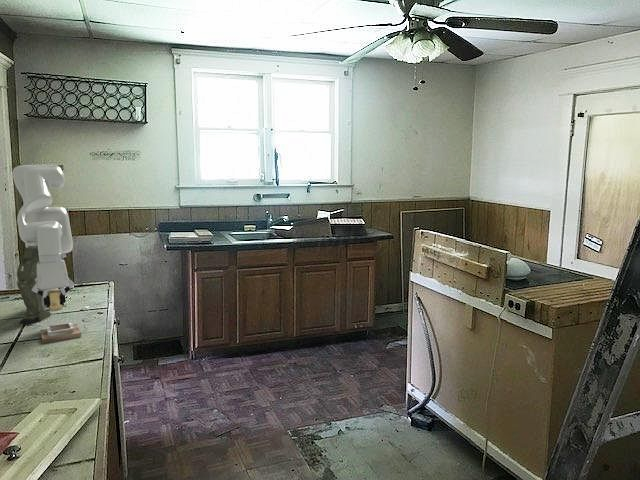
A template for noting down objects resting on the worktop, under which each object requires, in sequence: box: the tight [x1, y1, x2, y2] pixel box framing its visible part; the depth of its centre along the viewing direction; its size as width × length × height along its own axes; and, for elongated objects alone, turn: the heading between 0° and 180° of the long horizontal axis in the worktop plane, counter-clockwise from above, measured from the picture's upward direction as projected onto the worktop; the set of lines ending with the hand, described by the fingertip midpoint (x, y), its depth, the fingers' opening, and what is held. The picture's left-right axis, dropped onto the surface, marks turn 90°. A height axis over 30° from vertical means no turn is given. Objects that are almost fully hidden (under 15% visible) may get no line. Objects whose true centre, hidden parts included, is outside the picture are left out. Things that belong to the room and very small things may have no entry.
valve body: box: [47, 289, 63, 312], centre depth 191 cm, size 4×4×7 cm
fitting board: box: [39, 322, 82, 344], centre depth 182 cm, size 11×12×3 cm
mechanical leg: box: [16, 246, 51, 325], centre depth 199 cm, size 14×7×30 cm, turn 168°
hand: (55, 305), depth 191 cm, fingers closed on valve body, 4 cm apart
